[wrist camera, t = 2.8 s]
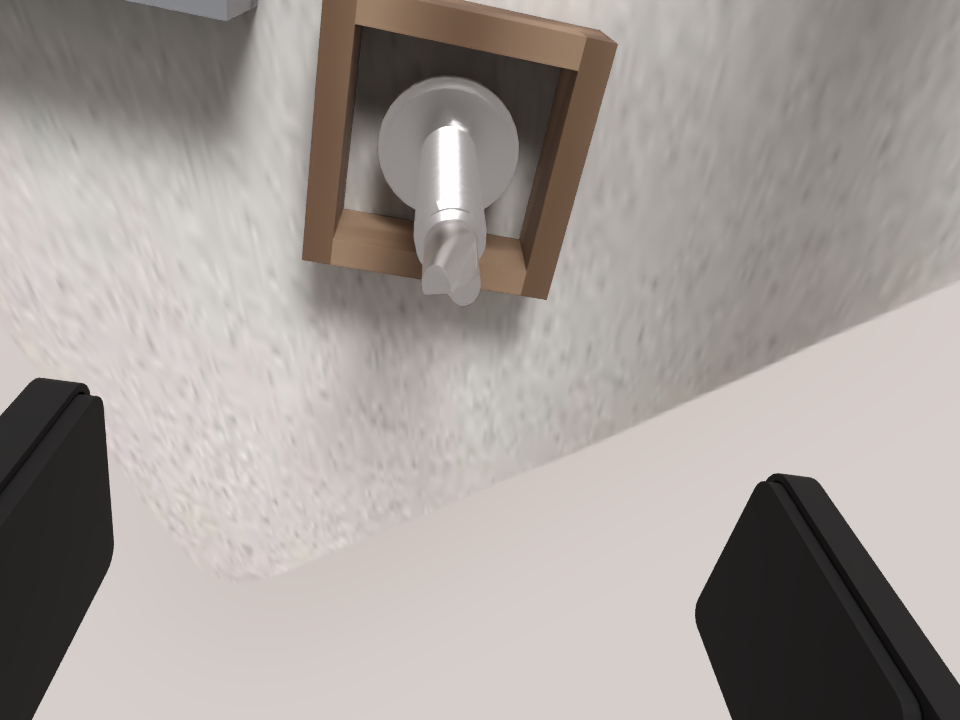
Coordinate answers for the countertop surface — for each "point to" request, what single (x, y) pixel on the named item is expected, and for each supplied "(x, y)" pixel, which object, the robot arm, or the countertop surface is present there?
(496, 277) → the frame
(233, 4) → the bin
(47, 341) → the countertop surface
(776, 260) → the countertop surface
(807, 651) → the robot arm
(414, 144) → the screw
